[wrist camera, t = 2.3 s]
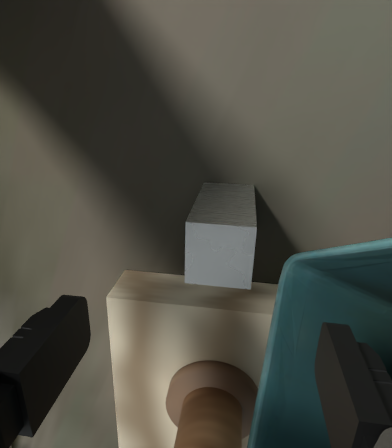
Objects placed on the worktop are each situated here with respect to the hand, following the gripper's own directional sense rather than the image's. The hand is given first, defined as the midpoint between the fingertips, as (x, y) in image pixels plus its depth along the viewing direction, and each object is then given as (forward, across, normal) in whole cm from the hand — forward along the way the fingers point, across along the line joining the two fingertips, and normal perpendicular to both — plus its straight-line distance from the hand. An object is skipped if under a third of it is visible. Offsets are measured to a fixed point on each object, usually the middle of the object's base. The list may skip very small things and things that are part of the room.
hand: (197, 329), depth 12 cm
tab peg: (+14, 0, 0) cm, 14 cm away
